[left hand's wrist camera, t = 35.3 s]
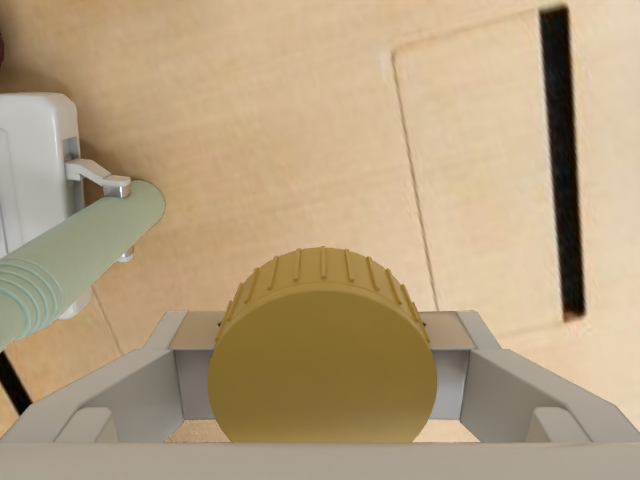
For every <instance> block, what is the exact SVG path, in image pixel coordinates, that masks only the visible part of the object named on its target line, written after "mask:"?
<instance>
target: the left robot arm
mask: <svg viewBox="0 0 640 480" xmlns="http://www.w3.org/2000/svg"><path fill="white" fill-rule="evenodd" d="M418 313H419V315H420V318H421V320H422V323H423V325H424V327H425V330H426V332H427V334H428V337H429V339H430V343H428V345H429V347H430V350H431V352H432V355H433V358H434V360H435V365H436V371H437V394H436V400H435V403H434V407H433V410H432V413H431V415H430V417H429V419H437V420H460V423H462V424H463V425H464V426H465V427H466V428H467V429H468V430H469V431H470V432H471V433H472V434H473V435H474V436H475V437H476V438H477V439H479V440H480V441H481V442H164V441H165V440H166V439H167V438H168V437H169V436H170V435H171V434H172V433H173V432H174V431H175V430H176V429H177V428H178V427H179V426H180V425H181V424H183V423H184V420H206V419H215V417H214V414H213V412H212V409H211V406H210V402H209V398H208V390H207V377H208V368H209V365H210V363H209V359H210V358H211V357H212V354H213V352H214V349H215V347H216V344H217V342H216V341H214V340H215V338H216V335H217V333H218V330H219V328H220V325H221V322H222V320H223V317H224V315H225V312H221V311H168V312H166V313H165V314H164V316H163V317H162V319H161V320H160V322H159V323H158V325H157V326H156V328H155V330H154V331H153V333H152V334H151V336H150V337H149V339H148V340H147V342H146V343H145V345H144V346H143V348H142V349H135V350H133V351H131V352H129V353H127V354H125V355H124V356H122V357H120V358H118V359H116V360H114V361H112V362H110V363H108V364H107V365H105V366H103V367H101V368H99V369H97V370H95V371H93V372H91V373H90V374H88V375H86V376H84V377H82V378H80V379H78V380H76V381H75V382H73V383H71V384H69V385H67V386H65V387H63V388H61V389H59V390H58V391H56V392H54V393H52V394H50V395H48V396H46V397H44V398H42V399H41V400H39V401H37V402H35V403H33V404H31V405H30V406H29V407H28V408H27V409H26V410H25V411H24V412H23V414H22V415H21V416H20V417H19V418H18V419H17V420H16V422H15V423H14V424H13V425H12V426H11V427H10V428H9V430H8V431H7V432H6V433H5V434H4V435H3V436H2V438H1V439H0V480H640V432H639V431H638V430H637V429H636V428H635V427H634V426H633V425H632V423H631V422H630V421H629V420H628V419H627V418H626V417H625V415H624V414H623V413H622V412H621V411H620V410H619V409H618V408H617V406H615V405H614V404H612V403H610V402H608V401H606V400H604V399H602V398H600V397H598V396H596V395H595V394H593V393H591V392H589V391H587V390H585V389H583V388H581V387H579V386H578V385H576V384H574V383H572V382H570V381H568V380H566V379H564V378H562V377H560V376H559V375H557V374H555V373H553V372H551V371H549V370H547V369H545V368H543V367H541V366H540V365H538V364H536V363H534V362H532V361H530V360H528V359H526V358H524V357H523V356H521V355H519V354H517V353H515V352H513V351H511V350H509V349H502V348H501V347H500V345H499V344H498V342H497V341H496V339H495V338H494V336H493V335H492V333H491V332H490V330H489V329H488V327H487V326H486V324H485V323H484V321H483V320H482V318H481V317H480V315H479V314H478V312H476V311H474V310H472V311H437V312H418Z"/></svg>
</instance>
